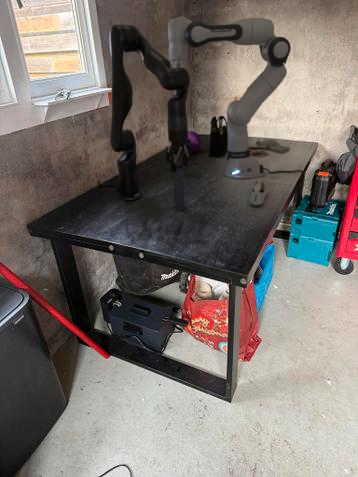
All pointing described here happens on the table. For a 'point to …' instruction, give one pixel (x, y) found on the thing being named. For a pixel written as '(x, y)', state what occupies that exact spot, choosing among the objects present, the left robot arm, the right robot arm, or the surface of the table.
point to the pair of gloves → (267, 144)
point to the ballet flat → (258, 193)
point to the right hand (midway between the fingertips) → (179, 86)
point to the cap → (179, 165)
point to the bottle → (178, 190)
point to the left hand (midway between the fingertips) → (179, 169)
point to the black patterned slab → (219, 139)
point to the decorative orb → (194, 141)
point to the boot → (213, 124)
